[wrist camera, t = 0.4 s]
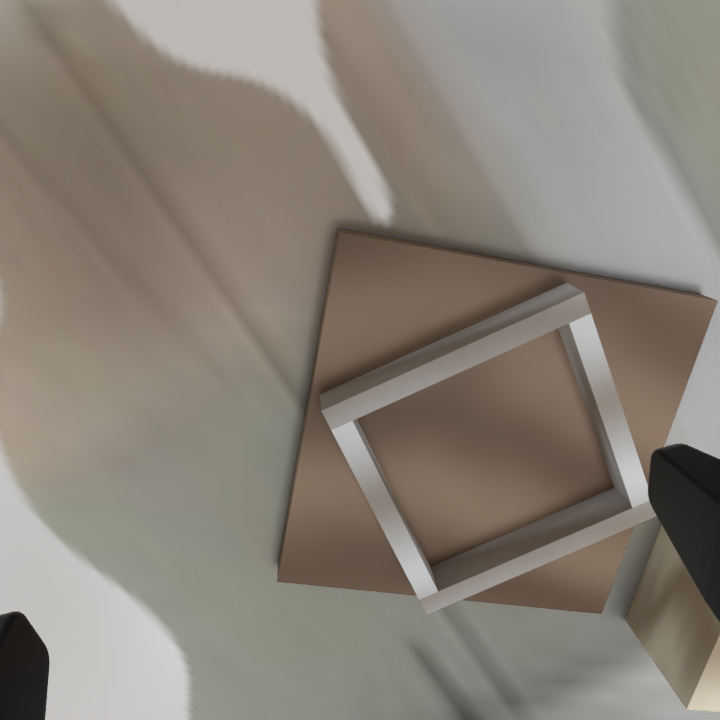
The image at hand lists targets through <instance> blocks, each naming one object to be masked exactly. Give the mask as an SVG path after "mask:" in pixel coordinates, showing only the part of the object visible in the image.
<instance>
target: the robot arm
mask: <svg viewBox="0 0 720 720" xmlns="http://www.w3.org/2000/svg"><path fill="white" fill-rule="evenodd" d="M648 497H649V501H650V504H651V506H652V508H653V510H654V512H655V514H656V516H657V517H658V519H659V521H660V523H661V524H662V526H663V528H664V530H665V532H666V533H667V535H668V537H669V539H670V540H671V542H672V544H673V546H674V548H675V549H676V551H677V553H678V555H679V556H680V558H681V560H682V562H683V564H684V565H685V567H686V569H687V571H688V572H689V574H690V576H691V578H692V580H693V581H694V583H695V585H696V587H697V588H698V590H699V592H700V593H701V595H702V597H703V598H704V600H705V602H706V603H707V605H708V606H709V608H710V609H711V610H712V612H713V613H714V615H715V616H716V618H717V619H718V621H719V622H720V459H718V458H716V457H713V456H711V455H709V454H706V453H704V452H702V451H699V450H697V449H695V448H693V447H690V446H688V445H685V444H674V445H670V446H666V447H662V448H658V449H656V450H654V451H653V453H652V455H651V460H650V471H649V482H648ZM48 674H49V655H48V651H47V648H46V646H45V644H44V643H43V641H42V640H41V638H40V637H39V635H38V634H37V633H36V631H35V629H34V628H33V627H32V625H31V624H30V622H29V621H28V619H27V618H26V617H25V616H24V614H22V613H20V612H10V613H6V614H2V615H0V720H45V712H46V699H47V687H48V686H47V685H48Z"/></svg>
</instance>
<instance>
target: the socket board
mask: <svg viewBox="0 0 720 720" xmlns="http://www.w3.org/2000/svg"><path fill="white" fill-rule="evenodd" d="M716 304H717V300H714V299H712V298H709V297H706V296H704V295H701V294H695V293H690V292H684V291H679V290H673V289H668V288H662V287H657V286H652V285H646V284H641V283H635V282H630V281H624V280H619V279H613V278H608V277H602V276H597V275H591V274H586V273H580V272H575V271H569V270H564V269H558V268H553V267H547V266H542V265H536V264H531V263H525V262H520V261H514V260H509V259H503V258H498V257H492V256H487V255H481V254H476V253H470V252H465V251H459V250H454V249H448V248H443V247H437V246H432V245H426V244H421V243H415V242H410V241H404V240H399V239H393V238H388V237H382V236H377V235H372V234H366V233H361V232H355V231H350V230H344V229H339V228H338V233H337V238H336V244H335V250H334V255H333V261H332V266H331V272H330V278H329V283H328V289H327V294H326V300H325V306H324V311H323V317H322V322H321V328H320V334H319V339H318V345H317V350H316V356H315V362H314V367H313V373H312V379H311V384H310V390H309V395H308V401H307V407H306V412H305V418H304V423H303V429H302V435H301V440H300V446H299V451H298V457H297V463H296V468H295V474H294V480H293V485H292V491H291V496H290V502H289V508H288V513H287V519H286V524H285V530H284V536H283V541H282V547H281V552H280V558H279V564H278V579H277V582H286V583H296V584H306V585H316V586H326V587H336V588H346V589H356V590H366V591H376V592H386V593H397V594H407V595H417V597H418V599H419V601H420V603H421V605H422V606H423V608H424V610H425V612H426V614H427V615H428V614H430V613H432V612H435V611H437V610H439V609H442V608H444V607H446V606H449V605H451V604H453V603H456V602H458V601H460V600H467V601H477V602H487V603H497V604H508V605H518V606H528V607H538V608H548V609H558V610H568V611H578V612H588V613H598V614H602V611H603V609H604V606H605V603H606V601H607V598H608V595H609V593H610V590H611V587H612V584H613V582H614V579H615V576H616V574H617V571H618V568H619V566H620V563H621V560H622V558H623V555H624V552H625V549H626V547H627V544H628V541H629V539H630V536H631V533H632V531H633V528H634V526H635V525H638V524H640V523H642V522H645V521H647V520H649V519H652V518H654V517H656V514H655V512H654V510H653V508H652V506H651V504H650V501H649V497H648V482H649V471H650V460H651V455H652V453H653V451H654V450H656V449H658V448H662V447H664V444H665V442H666V439H667V436H668V433H669V431H670V428H671V425H672V423H673V420H674V417H675V415H676V412H677V409H678V407H679V404H680V401H681V398H682V396H683V393H684V390H685V388H686V385H687V382H688V380H689V377H690V374H691V371H692V369H693V366H694V363H695V361H696V358H697V355H698V353H699V350H700V347H701V344H702V342H703V339H704V336H705V334H706V331H707V328H708V326H709V323H710V320H711V318H712V315H713V312H714V309H715V307H716Z"/></svg>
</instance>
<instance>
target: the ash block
mask: <svg viewBox="0 0 720 720" xmlns="http://www.w3.org/2000/svg"><path fill="white" fill-rule="evenodd" d="M625 620H626V621H627V623H628V624H629V626H630V627H631V629H632V630H633V632H634V633H635V635H636V636H637V638H638V639H639V640H640V642H641V643H642V645H643V646H644V648H645V649H646V651H647V652H648V654H649V655H650V657H651V658H652V659H653V661H654V662H655V664H656V665H657V667H658V668H659V670H660V671H661V673H662V674H663V676H664V677H665V678H666V680H667V681H668V683H669V684H670V686H671V687H672V689H673V690H674V692H675V693H676V695H677V696H678V698H679V699H680V700H681V702H682V703H683V705H684V706H685V708H686V709H687V710H700V711H714V712H720V622H719V621H718V619H717V618H716V616H715V615H714V613H713V612H712V610H711V609H710V608H709V606H708V605H707V603H706V602H705V600H704V598H703V597H702V595H701V593H700V592H699V590H698V588H697V587H696V585H695V583H694V581H693V580H692V578H691V576H690V574H689V572H688V571H687V569H686V567H685V565H684V564H683V562H682V560H681V558H680V556H679V555H678V553H677V551H676V549H675V548H674V546H673V544H672V542H671V540H670V539H669V537H668V535H667V533H666V532H665V530H664V528H663V526H661V528H660V531H659V533H658V536H657V539H656V541H655V544H654V546H653V549H652V552H651V554H650V557H649V559H648V562H647V565H646V567H645V570H644V573H643V575H642V578H641V580H640V583H639V586H638V588H637V591H636V593H635V596H634V599H633V601H632V604H631V606H630V609H629V612H628V614H627V617H626V619H625Z"/></svg>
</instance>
